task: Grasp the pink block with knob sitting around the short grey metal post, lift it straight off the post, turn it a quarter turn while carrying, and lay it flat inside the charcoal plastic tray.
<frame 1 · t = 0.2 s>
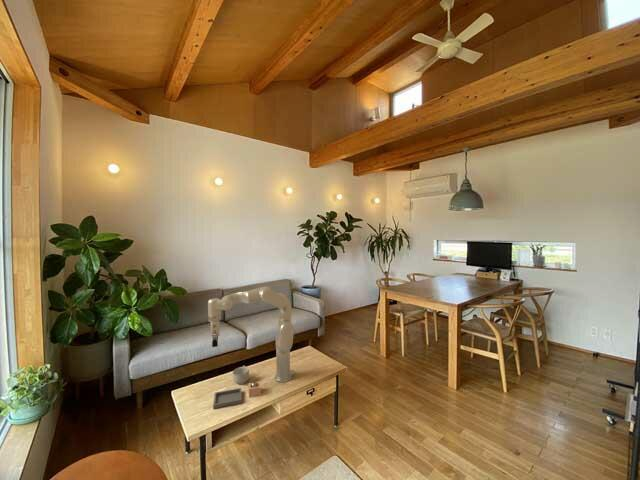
hand: (215, 343, 175), 31 cm above the table, fingers open, 9 cm apart
tray: (228, 399, 165), on the table
pink block with knob: (254, 392, 172), on the table
post: (254, 392, 172), on the table
teacup: (242, 380, 187), on the table
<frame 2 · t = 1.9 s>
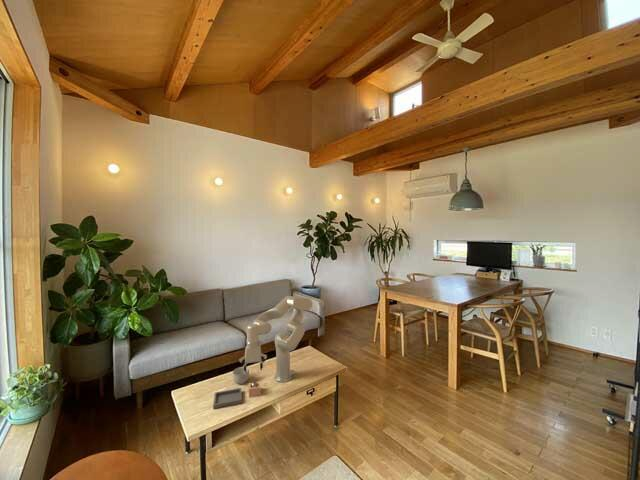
hand: (253, 370, 171), 15 cm above the table, fingers open, 9 cm apart
nothing on the table moved.
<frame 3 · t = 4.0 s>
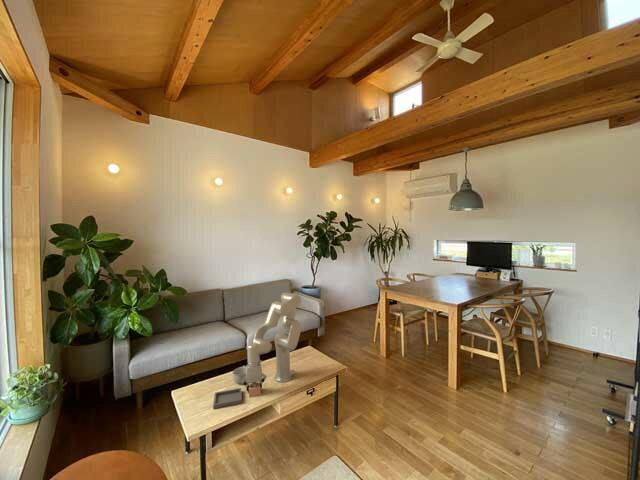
hand: (254, 390, 172), 2 cm above the table, fingers closed on pink block with knob, 7 cm apart
pink block with knob: (254, 392, 172), on the table, touching gripper
everything else where it was.
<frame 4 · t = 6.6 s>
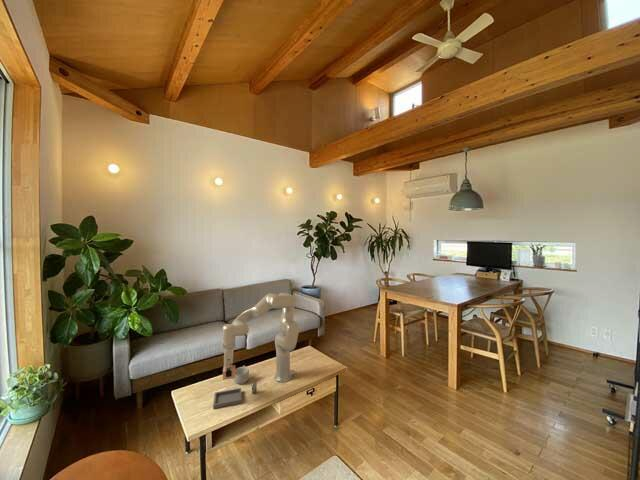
hand: (229, 373, 165), 17 cm above the table, fingers closed on pink block with knob, 7 cm apart
pink block with knob: (229, 376, 165), point 15 cm above the table, touching gripper
everything else where it was.
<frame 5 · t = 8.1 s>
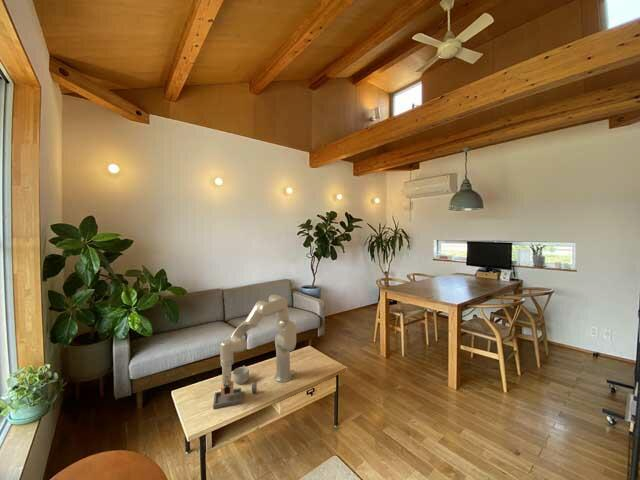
hand: (227, 389, 165), 7 cm above the table, fingers closed on pink block with knob, 7 cm apart
pink block with knob: (227, 392, 164), point 5 cm above the table, touching gripper
everything else where it was.
when the fingers open (5 cm above the table, at t = 9.4 s): pink block with knob drops 2 cm, resting on tray.
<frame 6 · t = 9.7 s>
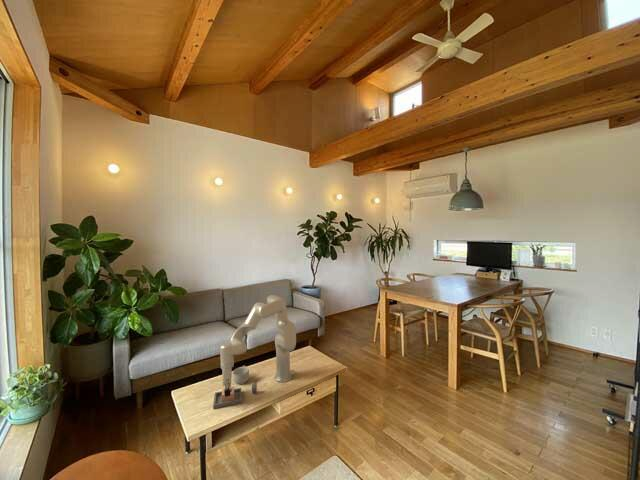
hand: (227, 391, 165), 5 cm above the table, fingers open, 9 cm apart
pink block with knob: (228, 398, 165), point 1 cm above the table, touching tray
everything else where it was.
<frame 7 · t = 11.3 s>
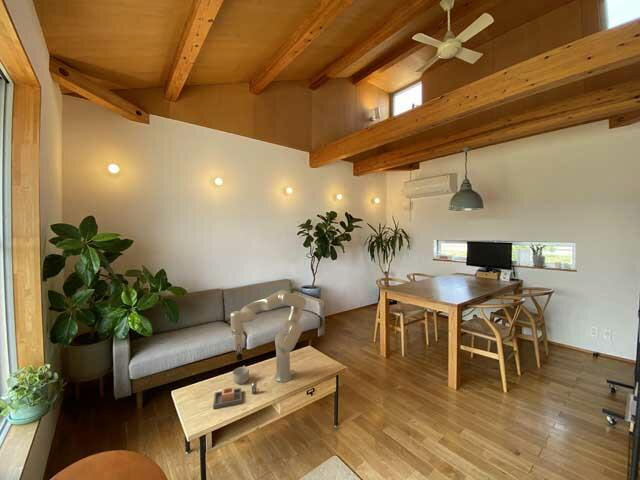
hand: (239, 356, 173), 23 cm above the table, fingers open, 9 cm apart
nothing on the table moved.
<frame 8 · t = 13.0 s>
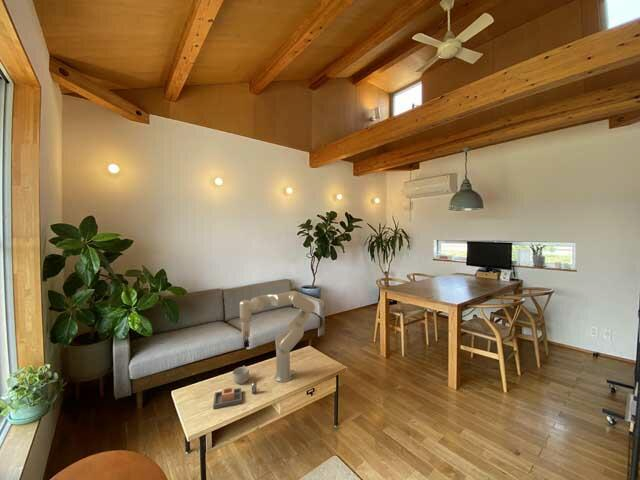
hand: (246, 344, 179), 28 cm above the table, fingers open, 9 cm apart
nothing on the table moved.
at the end: pink block with knob inside the target area on the tray (0.2 cm from its centre), point 0.6 cm above the tray's base; pink block with knob tilted 0°; the gripper is holding nothing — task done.
